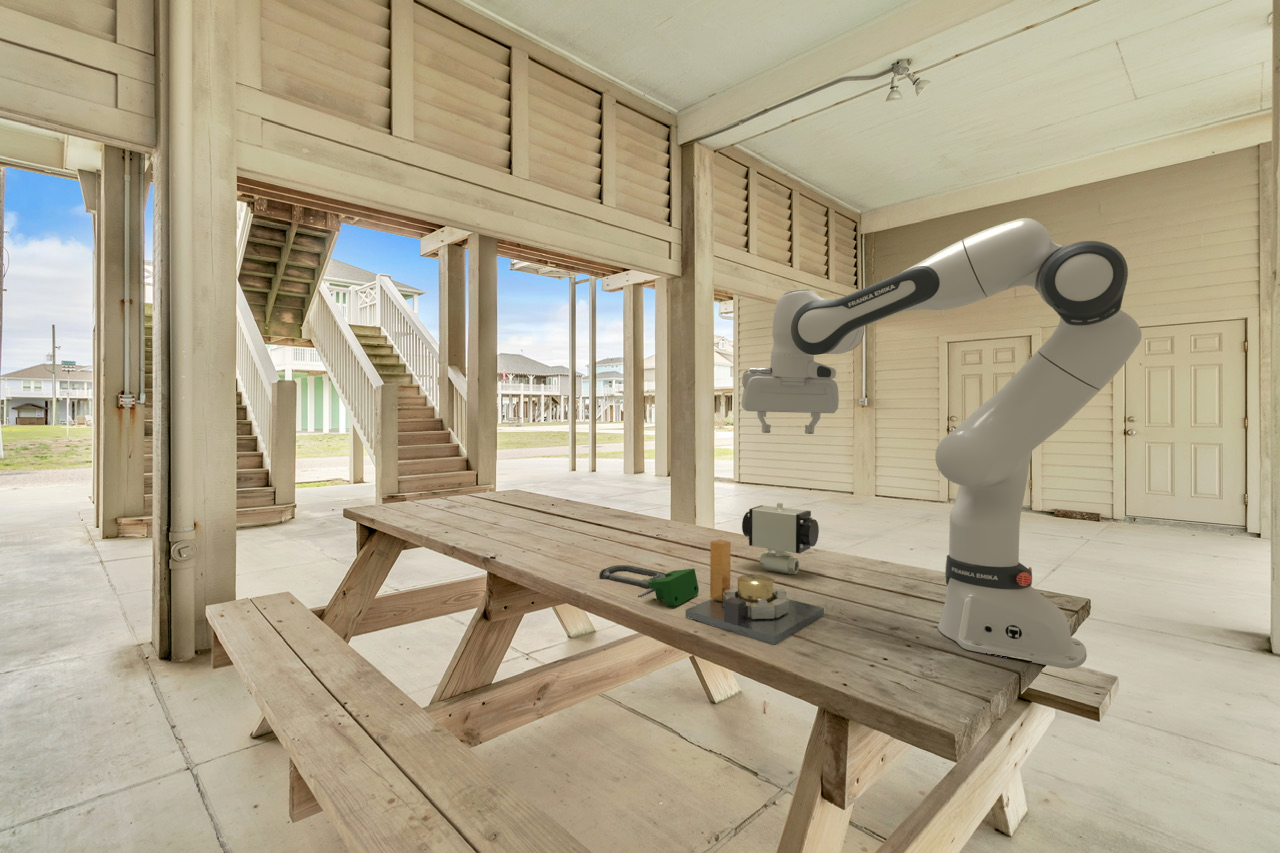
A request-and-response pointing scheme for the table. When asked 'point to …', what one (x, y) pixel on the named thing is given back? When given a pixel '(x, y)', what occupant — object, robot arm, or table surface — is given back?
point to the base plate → (736, 621)
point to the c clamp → (643, 583)
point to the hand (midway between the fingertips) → (787, 433)
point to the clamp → (675, 587)
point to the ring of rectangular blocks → (723, 592)
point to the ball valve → (780, 535)
